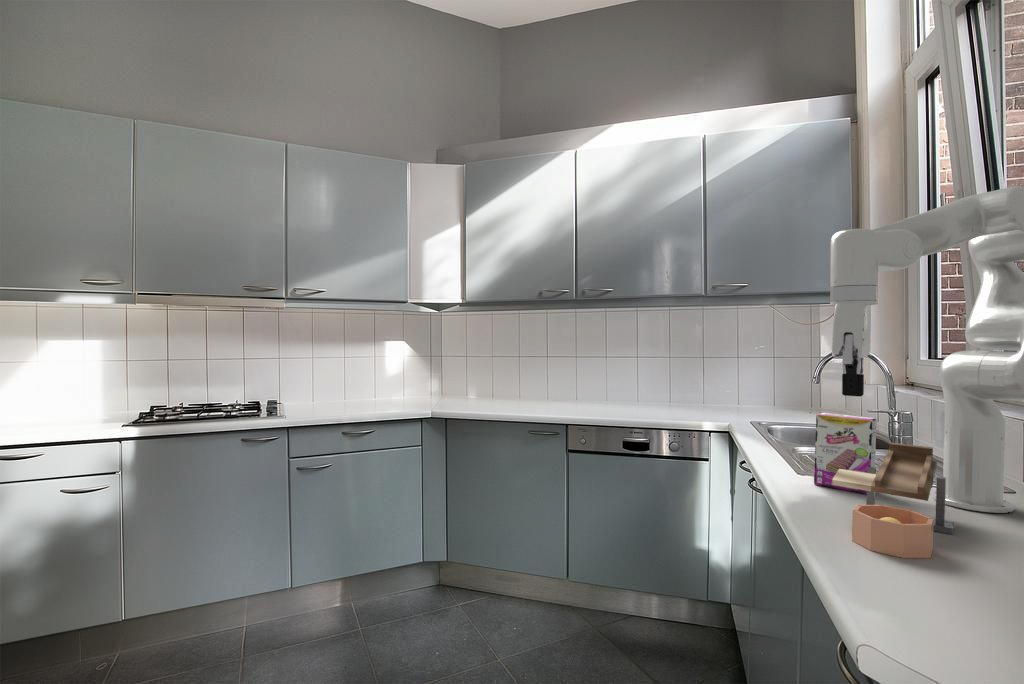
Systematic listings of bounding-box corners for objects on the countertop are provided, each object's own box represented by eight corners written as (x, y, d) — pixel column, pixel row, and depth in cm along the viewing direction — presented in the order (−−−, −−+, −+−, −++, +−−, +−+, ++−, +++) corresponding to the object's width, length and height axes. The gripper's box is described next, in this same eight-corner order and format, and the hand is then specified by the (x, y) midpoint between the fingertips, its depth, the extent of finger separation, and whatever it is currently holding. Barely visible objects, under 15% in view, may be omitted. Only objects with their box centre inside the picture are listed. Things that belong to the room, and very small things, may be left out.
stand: (861, 510, 107) (862, 464, 107) (953, 527, 97) (955, 477, 97) (857, 515, 103) (858, 468, 103) (952, 534, 94) (953, 482, 94)
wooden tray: (851, 470, 114) (851, 437, 113) (936, 482, 105) (936, 447, 104) (832, 502, 101) (831, 466, 100) (927, 520, 91) (928, 480, 90)
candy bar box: (813, 485, 125) (814, 413, 125) (819, 481, 129) (820, 412, 129) (870, 495, 117) (872, 419, 117) (875, 491, 121) (877, 417, 121)
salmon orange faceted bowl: (860, 529, 95) (860, 501, 95) (934, 545, 88) (935, 514, 88) (848, 545, 87) (849, 514, 87) (928, 563, 81) (929, 530, 81)
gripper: (838, 300, 109) (837, 391, 110) (822, 295, 98) (821, 397, 98) (883, 298, 105) (882, 394, 105) (871, 293, 93) (870, 400, 93)
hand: (852, 395), depth 102 cm, fingers closed
